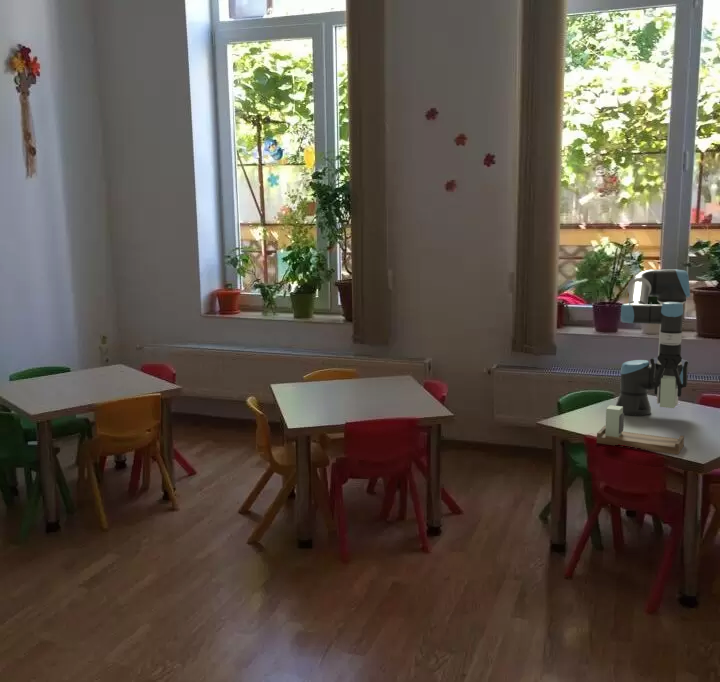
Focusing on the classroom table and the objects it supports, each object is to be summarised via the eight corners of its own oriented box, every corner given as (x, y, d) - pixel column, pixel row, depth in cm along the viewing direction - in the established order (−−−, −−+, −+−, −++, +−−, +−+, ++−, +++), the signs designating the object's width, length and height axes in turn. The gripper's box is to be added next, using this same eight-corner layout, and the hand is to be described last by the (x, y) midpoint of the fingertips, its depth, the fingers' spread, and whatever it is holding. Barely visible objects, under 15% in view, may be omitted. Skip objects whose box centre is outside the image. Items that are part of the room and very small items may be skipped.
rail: (604, 435, 306) (604, 425, 306) (683, 445, 291) (684, 435, 290) (596, 442, 296) (597, 433, 296) (678, 454, 281) (678, 444, 280)
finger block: (660, 403, 290) (662, 375, 288) (676, 404, 287) (677, 376, 286) (658, 406, 285) (659, 378, 283) (673, 408, 282) (675, 379, 281)
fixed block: (609, 431, 302) (610, 405, 300) (623, 433, 299) (624, 406, 297) (605, 435, 297) (606, 408, 295) (619, 437, 294) (621, 410, 292)
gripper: (642, 343, 284) (639, 403, 288) (695, 346, 274) (692, 408, 278) (646, 340, 290) (643, 398, 294) (698, 343, 281) (695, 404, 284)
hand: (667, 403), depth 286 cm, fingers closed on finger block, 6 cm apart
